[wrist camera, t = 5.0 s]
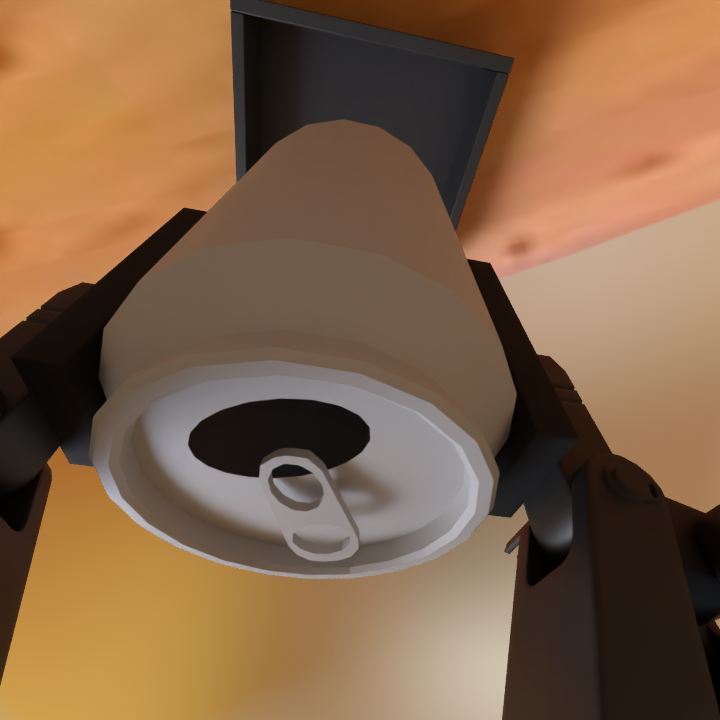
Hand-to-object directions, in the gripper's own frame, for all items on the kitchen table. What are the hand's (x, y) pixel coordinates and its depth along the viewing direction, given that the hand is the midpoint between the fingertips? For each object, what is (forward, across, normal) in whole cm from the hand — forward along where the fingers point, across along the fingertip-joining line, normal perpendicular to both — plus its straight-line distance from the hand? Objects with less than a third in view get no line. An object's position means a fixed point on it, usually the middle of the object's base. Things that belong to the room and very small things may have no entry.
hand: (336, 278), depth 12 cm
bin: (+16, 0, 0) cm, 16 cm away
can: (+5, 0, 0) cm, 5 cm away
